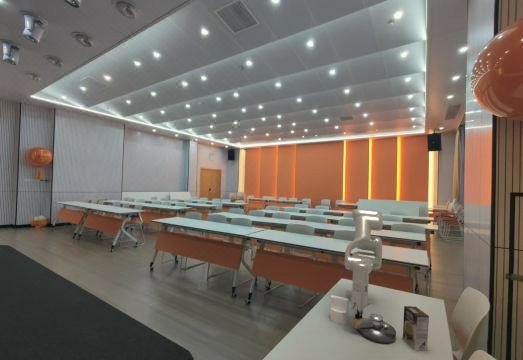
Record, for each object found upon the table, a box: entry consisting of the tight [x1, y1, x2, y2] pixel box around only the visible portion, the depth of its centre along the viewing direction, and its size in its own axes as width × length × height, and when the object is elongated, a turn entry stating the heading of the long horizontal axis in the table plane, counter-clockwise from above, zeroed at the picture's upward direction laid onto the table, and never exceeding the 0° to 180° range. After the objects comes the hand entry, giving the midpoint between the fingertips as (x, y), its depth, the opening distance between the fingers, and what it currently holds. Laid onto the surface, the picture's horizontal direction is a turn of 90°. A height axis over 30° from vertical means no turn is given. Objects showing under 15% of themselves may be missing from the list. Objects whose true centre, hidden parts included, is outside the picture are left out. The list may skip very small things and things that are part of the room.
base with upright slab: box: [329, 294, 349, 325], centre depth 140 cm, size 9×9×12 cm
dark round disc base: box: [356, 320, 397, 344], centre depth 128 cm, size 18×18×4 cm
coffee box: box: [402, 305, 430, 352], centre depth 120 cm, size 9×6×16 cm
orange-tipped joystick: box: [353, 312, 384, 330], centre depth 128 cm, size 15×6×5 cm, turn 101°
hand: (358, 322), depth 130 cm, fingers closed
